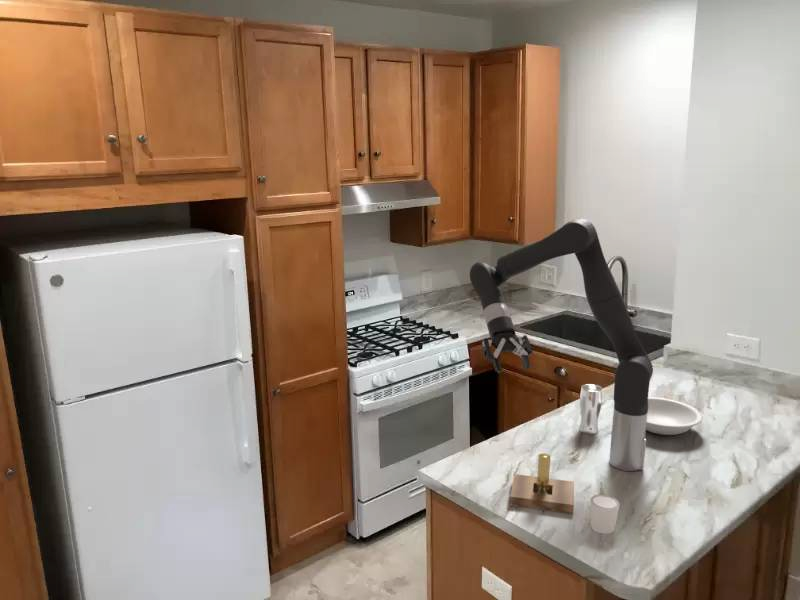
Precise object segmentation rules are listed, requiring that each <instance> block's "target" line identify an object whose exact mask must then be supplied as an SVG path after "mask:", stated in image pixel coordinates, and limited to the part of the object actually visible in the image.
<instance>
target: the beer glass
mask: <svg viewBox="0 0 800 600" xmlns="http://www.w3.org/2000/svg"><path fill="white" fill-rule="evenodd" d="M580 389H581V390H580V396H579V408H580V409H579V410H580V424H579V428H578V430H579V431H580V432H581V433H583V434H586V435H595V433H596V434H597V433H598V432H599V424H598V423H599V422H598V421H599V417H600V413H601V409H602V406H603V387H602V386H600V385H598V384H593V383H586V384H582V385H581V388H580Z"/></svg>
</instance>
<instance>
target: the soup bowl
mask: <svg viewBox="0 0 800 600" xmlns="http://www.w3.org/2000/svg"><path fill="white" fill-rule="evenodd" d="M702 421H703V415H702V413H701V412H700V411H699V410H697V409H696V408H695V407H693V406H691V405H689V404H687V403H684V402H682V401H677V400H675V399H669V398H666V397H665V398H664V397H656V396H648V415H647V425H646V432H650V433H654V434H657V435H663V436H664V435H665V436H673V435H674V436H676V435H680V434H684V433H686V432H687V431H689V430H691V429H692V428H693V427H694V426H697V425H699V424H701V422H702Z"/></svg>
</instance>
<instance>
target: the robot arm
mask: <svg viewBox="0 0 800 600" xmlns="http://www.w3.org/2000/svg"><path fill="white" fill-rule="evenodd" d="M598 235H599V234H598V232H597V229H596V227H595V226H594V224H593V223H592V221H589V219H585V218H581V217H580V218H576V219H575V218H574V219H572V220H570V221H568V222H566V223H565V224H564V225H563V226H561V227H560V228H558V229H556V231H554V232H552V233H551V234H549V235H548V236H546V237H544V238H543V239H540V240H538V241H536V242H534V243H533V242H532V243H531V244H528V245H525V246H522V247H520V248H519V247H518V248H516V249H515V250H512V251H510V252H508V253H505V254H504V255H502V256H500V257H499V258H498V259H497V261H496V265H495V266H491V265H490V264H488V263H486V262H482V261H478V262H475V263H474V264H473V265H472V266H471V268H470V269H469V280H470V283H471V285H472V287H473V289H474V291H475V294H477V296H478V298H479V300H480V304H481V307H482V310H483V314H484V315H483V316H484V320H485V321H484V322H485V324H486V328H487V330H488V334H489V337H490V339H488V338H487V337H485V338H484V339H483V340H482V342H481V347H482V352H483V356H484V360H485V361H491V362H492V365H493V368H494V371H495V372H497V374H501V372H502V370H503V367H502V365H501V361H500V359H499V355H500V353H501V354H507V353H508V354H509V353H510V354H511V353H514V354H515V355H517V356H518V357H520V358H521V359H520V360H521V363H522V366H523V370H524V371H528V370H529V369H530V367H531V362H530V359H529V357H531V355H532V354H533V353H534V352H533V348H532V346H531V343H530V341H529V338H528V335H527V334H524V335H523V336H520V337H519V336H517V334H516V330H515V326H514V324H513V319H512V316H511V313H510V311H509V309H508V307H507V303H506V300H505V297H504V294H503V292H502V291H501V290H500V289H499V287H500V286H501V285H503V284H504V283H506V282H507V281H508V280H509V279H510V278H512V277H514V276H517V275H520V274H522V273H525V272H527V271H528V270H530V269H533V268H535V267H537V266H539V265H540V264H543V263H545V262H548V261H550V260H553V259H556V258H559V257H563V256H567V255H572V254H574V255H575V258H576V259H577V261H578V263H579V265H580V269H581V272H582V278H583V279H582V280H583V284H584V285H583V287H584V291H585V297H586V300H587V303H588V306H589V308H590V310H591V313H592V316H593V317H594V319H595V321H596V323H597V324H598V326H599V327H600V328H601V330H603V333H604V334H606V336H607V337H608V339H609V340H610V342H611V344H612V346H613V349H614V351H615V355H616V357H617V360H618V365H617V367H616V369H615V374H614V386H613V387H614V388H613V401H614V402H613V403H614V405H613V415H612V416H613V417H612V423H611V424H612V427H611V437H610V449H609V461H608V462H609V464H610V466H612V467H614V468H615V469H618V470H621V471H626V472H636V471H644V466H645V457H646V454H645V453H646V447H647V437H646V434H647V430H646V425H647V415H648V397H649V392H650V391H649V390H650V382H651V378H652V377H653V371H654V367H653V363H652V361H651V359H650V357H649V355H648V353H647V352H646V351H645V348H644V347H643V345H642V343H641V341H640V340H639V337H638V336H637V333H636V330H635V327H634V324H633V321H632V319H631V316H630V314H629V311H628V308H627V305H626V303H625V300H624V298H623V296H622V293H621V290H620V289H619V287H618V284H617V282H616V280H615V278H614V276H613V273H612V271H611V269H610V266H609V265H608V262H607V261H606V257H605V255H604V252H603V249H602V246H601V242H600V239H599V236H598ZM491 346H493V348H495V350H494V352H493V354H492V351H491Z"/></svg>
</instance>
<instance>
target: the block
mask: <svg viewBox="0 0 800 600" xmlns="http://www.w3.org/2000/svg"><path fill="white" fill-rule="evenodd" d="M509 497H510V499H509V500H510V501H509V505H510V504H512V505H511V506H513V505H517V506H516V507H521V506H523V507H522V508H528V507H529V508H530V509H535V508H536V509H535V510H542V511H543V510H544V511H549V512H550V511H551V512H557V513H564V514H573V515H574V509H575V482H574V481H571V480H565V479H555V478H549V487H548V494H541V493H537V476H532V475H524V474H517V473H514V475H513V479H512V485H511V491H510V496H509Z"/></svg>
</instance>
